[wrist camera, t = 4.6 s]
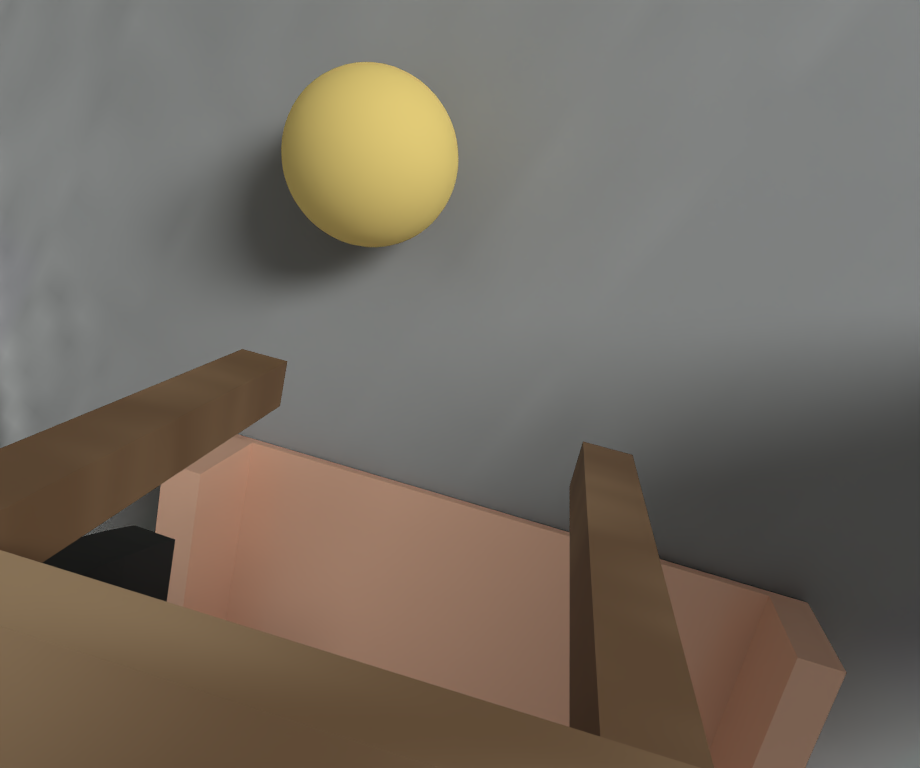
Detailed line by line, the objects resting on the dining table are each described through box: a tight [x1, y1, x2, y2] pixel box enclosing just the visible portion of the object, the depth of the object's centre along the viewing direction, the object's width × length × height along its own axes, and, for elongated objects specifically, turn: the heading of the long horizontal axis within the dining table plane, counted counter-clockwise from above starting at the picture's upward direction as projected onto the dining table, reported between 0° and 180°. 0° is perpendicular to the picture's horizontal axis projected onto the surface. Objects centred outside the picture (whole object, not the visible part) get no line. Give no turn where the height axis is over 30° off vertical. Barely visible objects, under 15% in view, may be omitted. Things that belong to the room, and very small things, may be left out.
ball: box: [281, 62, 458, 247], centre depth 15 cm, size 4×4×4 cm
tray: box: [155, 434, 846, 768], centre depth 18 cm, size 16×11×3 cm
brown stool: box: [0, 349, 714, 768], centre depth 8 cm, size 6×6×6 cm
